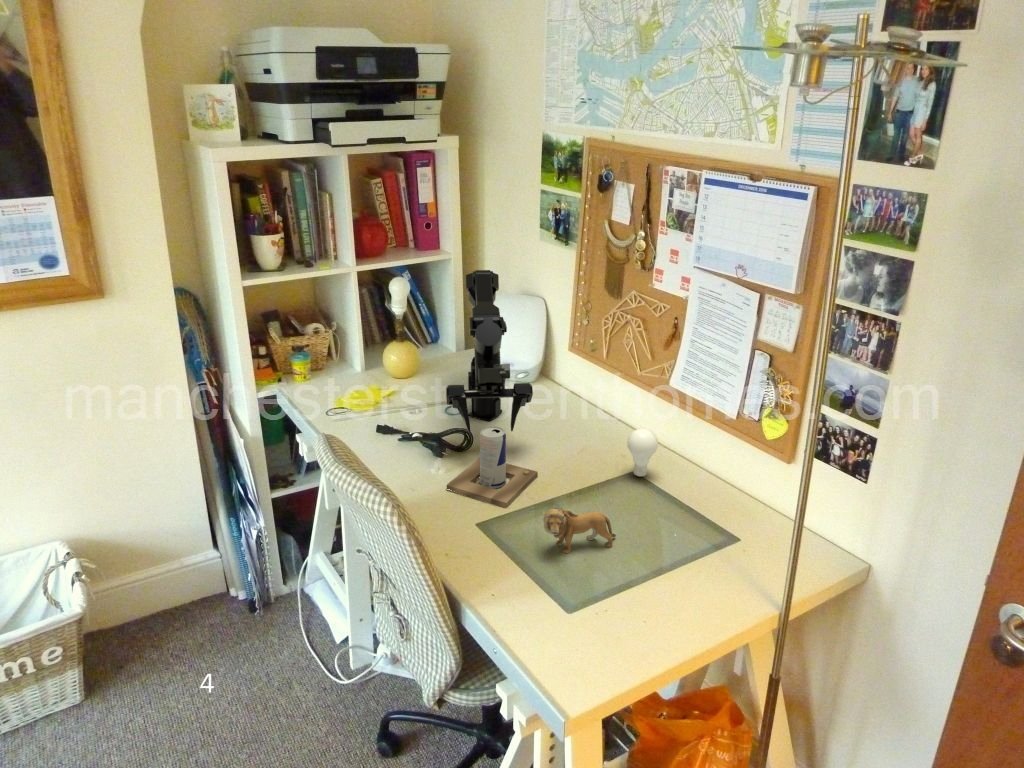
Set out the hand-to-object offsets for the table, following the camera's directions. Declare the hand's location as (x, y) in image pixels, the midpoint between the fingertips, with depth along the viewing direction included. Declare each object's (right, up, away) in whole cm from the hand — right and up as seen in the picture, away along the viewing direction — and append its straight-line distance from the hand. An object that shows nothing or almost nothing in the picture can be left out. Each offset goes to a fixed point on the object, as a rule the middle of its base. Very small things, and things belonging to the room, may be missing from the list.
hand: (490, 431), depth 162 cm
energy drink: (+1, -11, -4) cm, 11 cm away
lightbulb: (+32, -10, 0) cm, 33 cm away
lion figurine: (+17, -20, -24) cm, 35 cm away
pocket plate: (+1, -11, -4) cm, 11 cm away
